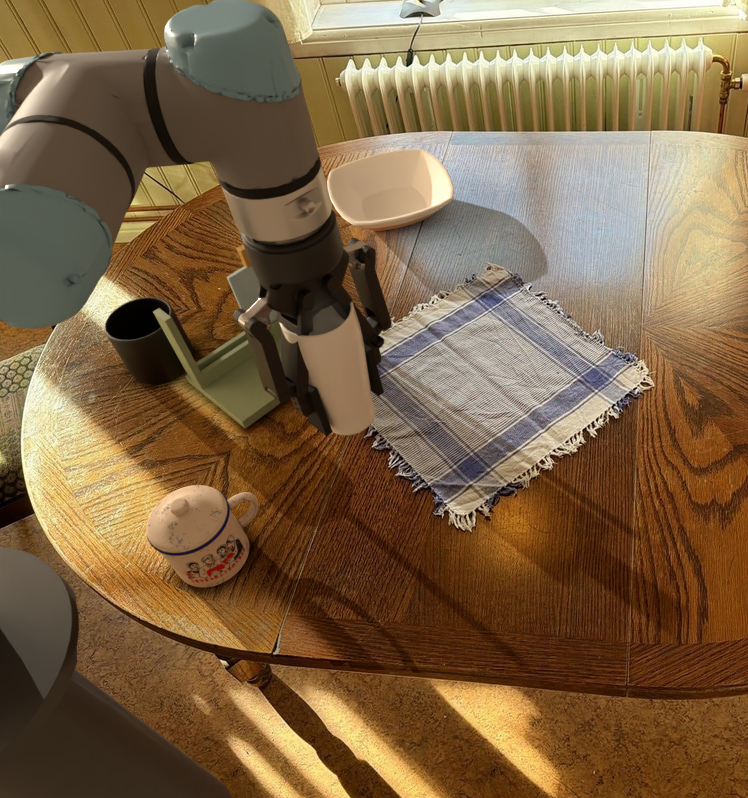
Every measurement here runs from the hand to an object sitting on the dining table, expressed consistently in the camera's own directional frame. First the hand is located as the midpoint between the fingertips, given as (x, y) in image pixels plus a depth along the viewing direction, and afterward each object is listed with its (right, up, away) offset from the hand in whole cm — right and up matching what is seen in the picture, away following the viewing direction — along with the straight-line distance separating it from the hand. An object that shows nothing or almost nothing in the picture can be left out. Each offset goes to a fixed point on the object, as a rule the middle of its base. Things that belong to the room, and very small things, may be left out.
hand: (347, 407), depth 76 cm
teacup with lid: (-19, -18, +15) cm, 30 cm away
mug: (-38, +7, +37) cm, 54 cm away
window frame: (-19, +6, +36) cm, 42 cm away
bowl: (-7, +36, +61) cm, 71 cm away
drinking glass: (0, -1, +1) cm, 2 cm away
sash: (-20, +12, +39) cm, 45 cm away
